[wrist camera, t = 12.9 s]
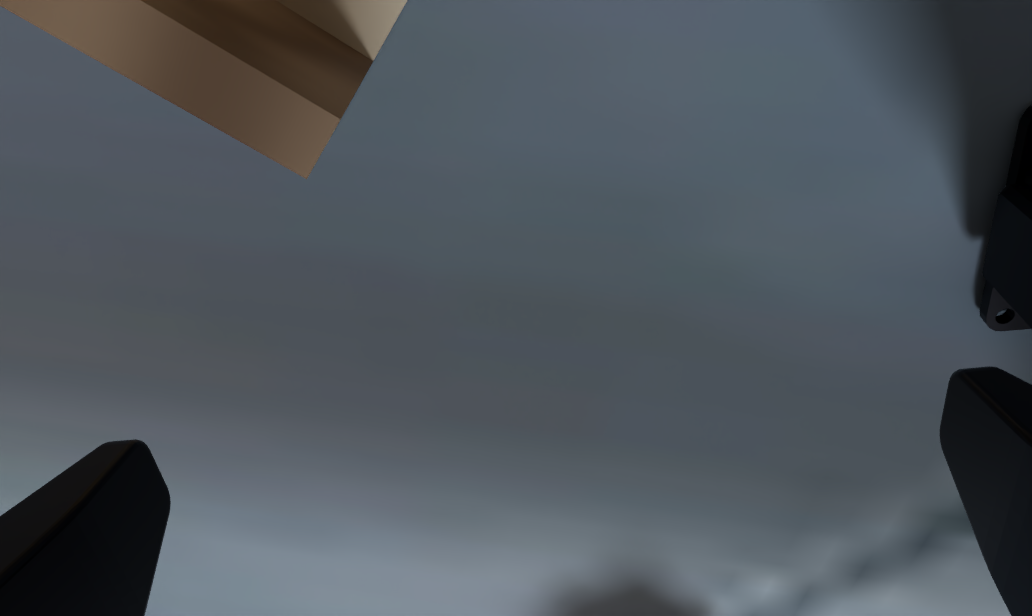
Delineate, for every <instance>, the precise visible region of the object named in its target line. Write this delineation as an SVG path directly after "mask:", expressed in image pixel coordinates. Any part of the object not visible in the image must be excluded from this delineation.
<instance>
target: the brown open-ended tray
mask: <svg viewBox="0 0 1032 616" xmlns="http://www.w3.org/2000/svg"><path fill="white" fill-rule="evenodd" d="M406 2H407V0H0V6H2V7H3V8H5V9H7V10H9V11H10V12H12V13H14V14H16V15H17V16H19V17H21V18H23V19H25V20H26V21H28V22H30V23H32V24H33V25H35V26H37V27H39V28H40V29H42V30H44V31H46V32H48V33H49V34H51V35H53V36H55V37H56V38H58V39H60V40H62V41H63V42H65V43H67V44H69V45H71V46H72V47H74V48H76V49H78V50H79V51H81V52H83V53H85V54H86V55H88V56H90V57H92V58H93V59H95V60H97V61H99V62H101V63H102V64H104V65H106V66H108V67H109V68H111V69H113V70H115V71H116V72H118V73H120V74H122V75H124V76H125V77H127V78H129V79H131V80H132V81H134V82H136V83H138V84H139V85H141V86H143V87H145V88H146V89H148V90H150V91H152V92H154V93H155V94H157V95H159V96H161V97H162V98H164V99H166V100H168V101H169V102H171V103H173V104H175V105H177V106H178V107H180V108H182V109H184V110H185V111H187V112H189V113H191V114H192V115H194V116H196V117H198V118H200V119H201V120H203V121H205V122H207V123H208V124H210V125H212V126H214V127H215V128H217V129H219V130H221V131H222V132H224V133H226V134H228V135H230V136H231V137H233V138H235V139H237V140H238V141H240V142H242V143H244V144H245V145H247V146H249V147H251V148H253V149H254V150H256V151H258V152H260V153H261V154H263V155H265V156H267V157H268V158H270V159H272V160H274V161H276V162H277V163H279V164H281V165H283V166H284V167H286V168H288V169H290V170H291V171H293V172H295V173H297V174H298V175H300V176H302V177H304V178H306V179H307V178H308V176H309V174H310V172H311V171H312V169H313V167H314V165H315V164H316V162H317V160H318V158H319V156H320V155H321V153H322V151H323V149H324V148H325V146H326V144H327V143H328V141H329V139H330V137H331V136H332V134H333V132H334V130H335V128H336V127H337V125H338V123H339V121H340V120H341V118H342V116H343V114H344V112H345V111H346V109H347V107H348V105H349V103H350V102H351V100H352V98H353V96H354V95H355V93H356V91H357V89H358V87H359V86H360V84H361V82H362V80H363V78H364V77H365V75H366V73H367V71H368V70H369V68H370V66H371V64H372V62H373V61H374V59H375V57H376V55H377V54H378V52H379V50H380V48H381V46H382V45H383V43H384V41H385V39H386V37H387V36H388V34H389V32H390V30H391V29H392V27H393V25H394V23H395V21H396V20H397V18H398V16H399V14H400V13H401V11H402V9H403V7H404V5H405V4H406Z"/></svg>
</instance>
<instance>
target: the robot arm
mask: <svg viewBox="0 0 1032 616" xmlns="http://www.w3.org/2000/svg"><path fill="white" fill-rule="evenodd" d="M983 276H984V278H985V279H986V283H985V288H984V293H983V297H982V302H981V307H980V316H981V318H982V319H983V321H984V322H985V323H986V324H987V325H988V327H989V328H991V329H993V330H995V331H1009V330H1021V329H1032V106H1030V107H1029V108H1028V109H1027V110H1026V111H1025V112H1024V113H1023V115H1022V117H1021V119H1020V122H1019V126H1018V130H1017V135H1016V140H1015V145H1014V149H1013V154H1012V159H1011V164H1010V168H1009V173H1008V178H1007V183H1006V186H1005V187H1004V188H1003V190H1002V191H1001V192H1000V193H999V195H998V200H997V204H996V209H995V214H994V219H993V224H992V229H991V234H990V239H989V243H988V248H987V253H986V258H985V263H984V268H983ZM1006 308H1007V310H1006V312H1005V313H1003V314H1002V315H999V316H996V315H997V313H998V312H1000V311H1001V310H1003V309H1006ZM940 442H941V447H942V450H943V453H944V456H945V458H946V461H947V464H948V466H949V469H950V471H951V474H952V477H953V479H954V482H955V484H956V487H957V490H958V492H959V495H960V497H961V500H962V503H963V505H964V508H965V510H966V513H967V516H968V518H969V521H970V524H971V526H972V529H973V531H974V534H975V537H976V539H977V542H978V544H979V547H980V550H981V552H982V555H983V557H984V560H985V562H986V564H987V567H988V569H989V571H990V574H991V576H992V578H993V580H994V582H995V584H996V586H997V588H998V590H999V592H1000V594H1001V596H1002V598H1003V600H1004V602H1005V604H1006V606H1007V608H1008V610H1009V612H1010V614H1011V616H1032V385H1031V384H1029V383H1027V382H1025V381H1023V380H1021V379H1019V378H1017V377H1015V376H1013V375H1012V374H1010V373H1008V372H1006V371H1004V370H1002V369H999V368H997V367H978V368H967V369H959V370H957V371H955V372H954V373H953V374H952V376H951V377H950V380H949V384H948V389H947V394H946V399H945V404H944V409H943V414H942V420H941V425H940ZM169 513H170V494H169V491H168V488H167V486H166V483H165V481H164V479H163V477H162V475H161V473H160V471H159V469H158V466H157V464H156V462H155V460H154V458H153V456H152V454H151V451H150V449H149V448H148V446H147V445H146V444H145V443H144V442H142V441H140V440H124V441H112V442H107V443H104V444H102V445H101V446H99V447H98V448H96V449H95V450H93V451H92V452H91V453H89V454H88V455H86V456H85V457H83V458H82V459H81V460H79V461H78V462H76V463H75V464H74V465H72V466H71V467H69V468H68V469H66V470H65V471H64V472H62V473H61V474H59V475H58V476H57V477H55V478H54V479H52V480H51V481H49V482H48V483H47V484H45V485H44V486H42V487H41V488H40V489H38V490H37V491H35V492H34V493H32V494H31V495H30V496H28V497H27V498H25V499H24V500H23V501H21V502H20V503H18V504H17V505H15V506H14V507H13V508H11V509H10V510H8V511H7V512H6V513H4V514H3V515H1V516H0V616H144V615H145V612H146V608H147V603H148V599H149V595H150V591H151V587H152V583H153V579H154V575H155V571H156V566H157V562H158V558H159V554H160V550H161V546H162V542H163V538H164V533H165V529H166V525H167V521H168V517H169Z"/></svg>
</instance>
